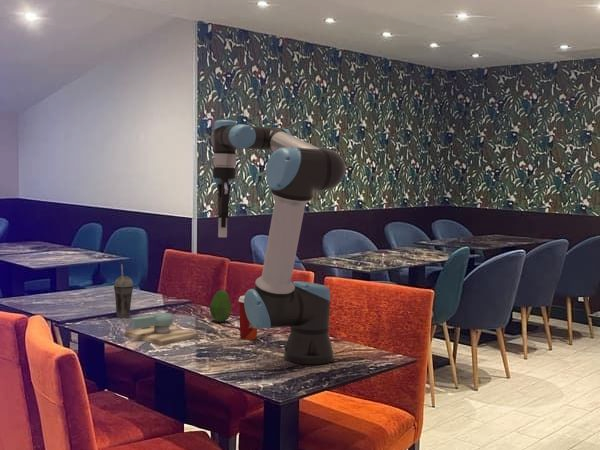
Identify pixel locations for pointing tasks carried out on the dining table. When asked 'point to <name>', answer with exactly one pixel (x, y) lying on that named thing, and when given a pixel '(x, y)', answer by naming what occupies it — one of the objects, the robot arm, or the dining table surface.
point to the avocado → (220, 306)
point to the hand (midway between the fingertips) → (222, 237)
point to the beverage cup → (123, 295)
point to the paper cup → (245, 323)
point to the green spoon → (152, 320)
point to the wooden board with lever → (161, 334)
